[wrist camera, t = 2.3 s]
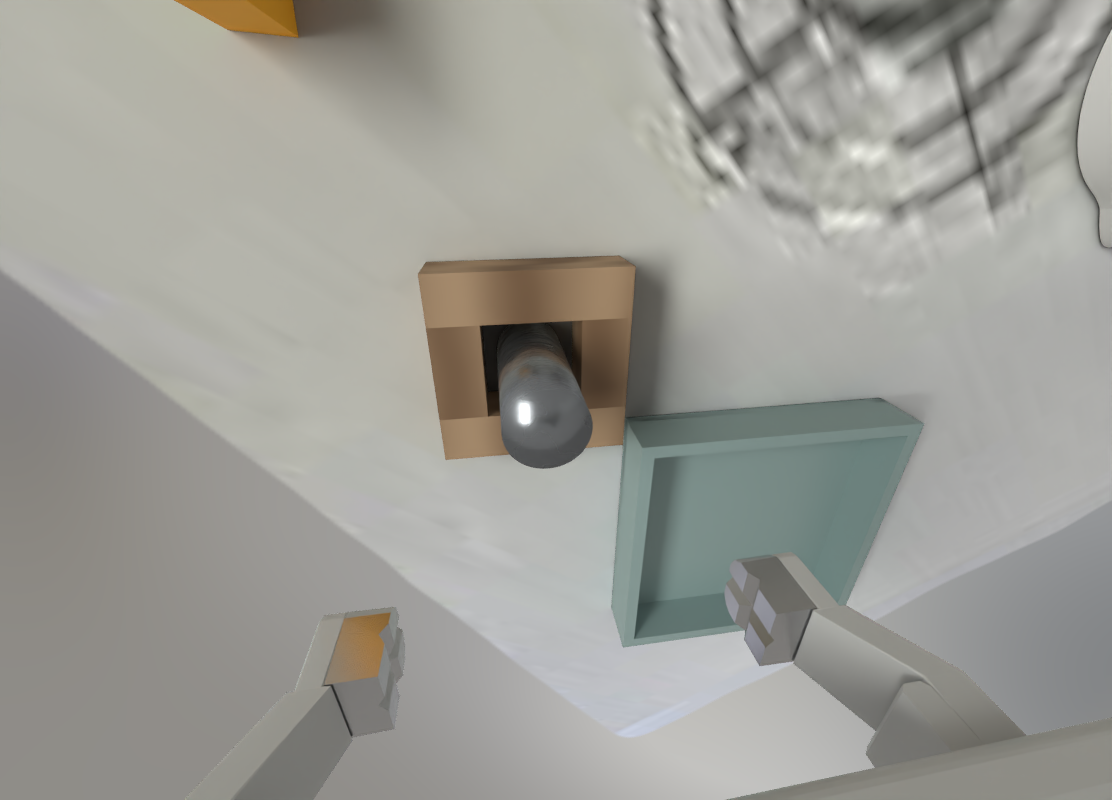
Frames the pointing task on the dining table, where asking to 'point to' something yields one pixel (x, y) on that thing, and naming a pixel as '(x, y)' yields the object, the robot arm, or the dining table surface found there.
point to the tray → (747, 504)
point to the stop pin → (539, 398)
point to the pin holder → (514, 298)
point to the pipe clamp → (248, 15)
